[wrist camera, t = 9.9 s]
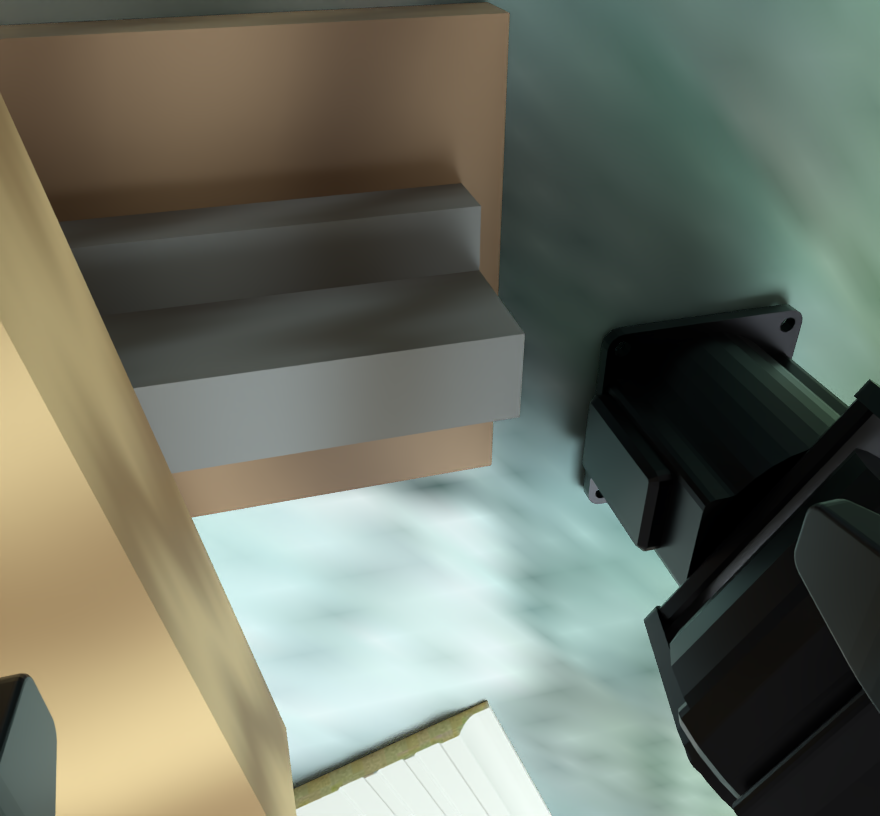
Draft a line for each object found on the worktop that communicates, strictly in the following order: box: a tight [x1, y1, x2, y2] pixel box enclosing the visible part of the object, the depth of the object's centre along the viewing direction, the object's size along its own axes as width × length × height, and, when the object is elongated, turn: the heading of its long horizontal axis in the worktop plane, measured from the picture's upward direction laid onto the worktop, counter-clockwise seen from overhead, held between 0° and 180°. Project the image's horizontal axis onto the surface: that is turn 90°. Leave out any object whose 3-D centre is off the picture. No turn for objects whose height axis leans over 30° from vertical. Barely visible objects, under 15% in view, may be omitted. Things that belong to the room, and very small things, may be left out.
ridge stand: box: [0, 2, 525, 517], centre depth 17 cm, size 20×12×6 cm, turn 90°
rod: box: [0, 93, 297, 816], centre depth 13 cm, size 20×4×4 cm, turn 8°
